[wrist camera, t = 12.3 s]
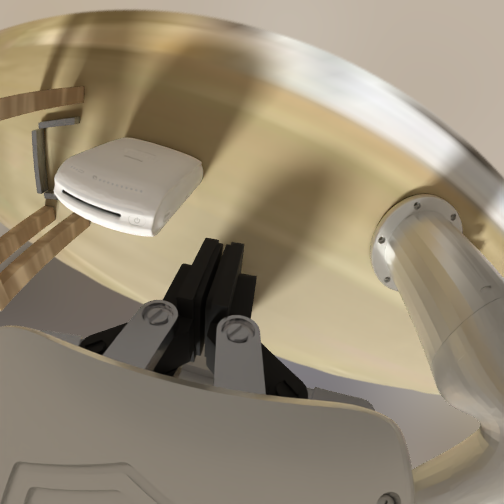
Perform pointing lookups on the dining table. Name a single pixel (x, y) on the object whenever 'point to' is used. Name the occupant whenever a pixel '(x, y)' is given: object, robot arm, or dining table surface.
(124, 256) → the dining table surface
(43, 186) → the seat guides
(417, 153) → the dining table surface
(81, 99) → the wooden display stand
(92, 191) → the photo printer
